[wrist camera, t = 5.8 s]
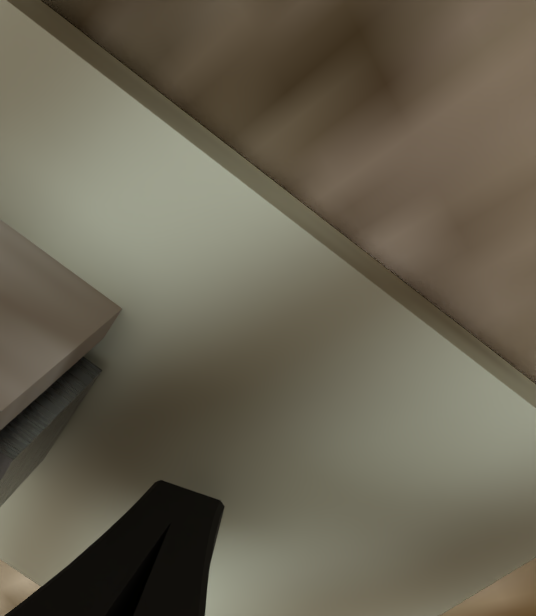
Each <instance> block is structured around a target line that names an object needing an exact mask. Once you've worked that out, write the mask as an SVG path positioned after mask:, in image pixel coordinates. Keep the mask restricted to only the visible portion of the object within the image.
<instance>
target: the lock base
mask: <svg viewBox="0 0 536 616" xmlns="http://www.w3.org/2000/svg"><path fill="white" fill-rule="evenodd" d="M83 356H84V357H85V358H86V359H88V360H89V361H91V362H92V363H93V364H95V365H96V366H98V367H99V368H100V369H102V372H101V373H100V375H99V376H98V378H97V379H96V381H95V383H94V384H93V386H92V387H91V389H90V390H89V392H88V393H87V395H86V396H85V398H84V399H83V401H82V402H81V404H80V405H79V407H78V408H77V410H76V411H75V413H74V414H73V416H72V418H71V419H70V421H69V422H68V424H67V425H66V427H65V428H64V430H63V431H62V433H61V434H60V436H59V437H58V439H57V440H56V442H55V443H54V445H53V446H52V448H51V449H50V451H49V453H48V454H47V456H46V457H45V459H44V460H43V461H42V462H41V463H40V464H39V465H38V467H37V468H36V469H35V470H34V471H33V472H32V473H31V474H30V475H29V476H28V477H27V479H26V480H25V481H24V482H23V483H22V484H21V485H20V486H19V487H18V488H17V489H16V491H15V492H14V493H13V494H12V495H11V496H10V497H9V498H8V499H7V500H6V501H5V503H4V504H3V505H2V506H1V507H0V559H1V560H2V561H4V562H5V563H7V564H8V565H10V566H11V567H13V568H14V569H15V570H17V571H18V572H20V573H21V574H23V575H24V576H26V577H27V578H29V579H30V580H32V581H33V582H35V583H36V584H38V585H39V586H41V587H42V586H43V585H44V584H45V583H47V582H48V581H49V580H50V579H52V578H53V577H54V576H55V575H57V574H58V573H59V572H60V571H62V570H63V569H64V568H65V567H66V566H68V565H69V564H70V563H71V562H72V561H73V560H75V559H76V558H77V557H78V556H79V555H80V554H81V553H82V552H84V551H85V550H86V549H87V548H88V547H89V546H90V545H91V544H93V543H94V542H95V541H96V540H97V539H98V538H99V537H101V536H102V535H103V534H104V533H105V532H106V531H107V530H108V529H109V528H110V527H111V526H112V525H113V524H115V523H116V522H117V521H118V520H119V519H120V518H121V517H122V516H123V515H124V514H125V513H126V512H127V511H128V510H129V509H130V508H131V507H132V506H133V505H134V504H135V503H136V502H137V501H138V500H139V499H140V498H141V497H142V496H143V495H144V494H145V493H146V491H147V490H148V489H149V488H150V487H151V486H152V485H153V484H154V483H155V482H157V481H159V480H163V481H166V482H169V483H172V484H174V485H177V486H180V487H183V488H186V489H189V490H192V491H195V492H198V493H201V494H204V495H207V496H209V497H212V498H215V499H218V500H221V502H222V503H223V505H224V506H225V507H224V511H223V515H222V519H221V523H220V527H219V531H218V535H217V539H216V543H215V547H214V551H213V555H212V559H211V563H210V570H209V578H208V586H207V598H206V610H205V616H440V615H441V614H443V613H445V612H446V611H448V610H449V609H451V608H453V607H454V606H456V605H458V604H459V603H461V602H463V601H464V600H466V599H468V598H469V597H471V596H473V595H474V594H476V593H478V592H479V591H481V590H483V589H484V588H486V587H487V586H489V585H491V584H492V583H494V582H496V581H497V580H499V579H501V578H502V577H504V576H506V575H507V574H509V573H511V572H512V571H514V570H516V569H517V568H519V567H521V566H522V565H524V564H525V563H527V562H529V561H530V560H532V559H534V558H535V557H536V384H535V383H533V382H532V381H531V380H530V379H528V378H527V377H526V376H524V375H523V374H522V373H521V372H519V371H518V370H517V369H515V368H514V367H513V366H512V365H510V364H509V363H508V362H506V361H505V360H504V359H503V358H501V357H500V356H499V355H497V354H496V353H495V352H493V351H492V350H491V349H490V348H488V347H487V346H486V345H484V344H483V343H482V342H481V341H479V340H478V339H477V338H475V337H474V336H473V335H472V334H470V333H469V332H468V331H466V330H465V329H464V328H463V327H461V326H460V325H459V324H457V323H456V322H455V321H454V320H452V319H451V318H450V317H448V316H447V315H446V314H444V313H443V312H442V311H441V310H439V309H438V308H437V307H435V306H434V305H433V304H432V303H430V302H429V301H428V300H426V299H425V298H424V297H423V296H421V295H420V294H419V293H417V292H416V291H415V290H414V289H412V288H411V287H410V286H408V285H407V284H406V283H405V282H403V281H402V280H401V279H399V278H398V277H397V276H396V275H394V274H393V273H392V272H390V271H389V270H388V269H386V268H385V267H384V266H383V265H381V264H380V263H379V262H377V261H376V260H375V259H374V258H372V257H371V256H370V255H368V254H367V253H366V252H365V251H363V250H362V249H361V248H359V247H358V246H357V245H356V244H354V243H353V242H352V241H350V240H349V239H348V238H347V237H345V236H344V235H343V234H341V233H340V232H339V231H337V230H336V229H335V228H334V227H332V226H331V225H330V224H328V223H327V222H326V221H325V220H323V219H322V218H321V217H319V216H318V215H317V214H316V213H314V212H313V211H312V210H310V209H309V208H308V207H307V206H305V205H304V204H303V203H301V202H300V201H299V200H298V199H296V198H295V197H294V196H292V195H291V194H290V193H288V192H287V191H286V190H285V189H283V188H282V187H281V186H279V185H278V184H277V183H276V182H274V181H273V180H272V179H270V178H269V177H268V176H267V175H265V174H264V173H263V172H261V171H260V170H259V169H258V168H256V167H255V166H254V165H252V164H251V163H250V162H249V161H247V160H246V159H245V158H243V157H242V156H241V155H240V154H238V153H237V152H236V151H234V150H233V149H232V148H230V147H229V146H228V145H227V144H225V143H224V142H223V141H221V140H220V139H219V138H218V137H216V136H215V135H214V134H212V133H211V132H210V131H209V130H207V129H206V128H205V127H203V126H202V125H201V124H200V123H198V122H197V121H196V120H194V119H193V118H192V117H191V116H189V115H188V114H187V113H185V112H184V111H183V110H181V109H180V108H179V107H178V106H176V105H175V104H174V103H172V102H171V101H170V100H169V99H167V98H166V97H165V96H163V95H162V94H161V93H160V92H158V91H157V90H156V89H154V88H153V87H152V86H151V85H149V84H148V83H147V82H145V81H144V80H143V79H142V78H140V77H139V76H138V75H136V74H135V73H134V72H132V71H131V70H130V69H129V68H127V67H126V66H125V65H123V64H122V63H121V62H120V61H118V60H117V59H116V58H114V57H113V56H112V55H111V54H109V53H108V52H107V51H105V50H104V49H103V48H102V47H100V46H99V45H98V44H96V43H95V42H94V41H93V40H91V39H90V38H89V37H87V36H86V35H85V34H84V33H82V32H81V31H80V30H78V29H77V28H76V27H74V26H73V25H72V24H71V23H69V22H68V21H67V20H65V19H64V18H63V17H62V16H60V15H59V14H58V13H56V12H55V11H54V10H53V9H51V8H50V7H49V6H47V5H46V4H45V3H44V2H42V1H41V0H0V430H2V429H3V428H4V427H5V426H6V425H7V424H8V423H9V422H10V421H12V420H13V419H14V418H15V417H16V416H17V415H18V414H19V413H20V412H22V411H23V410H24V409H25V408H26V407H27V406H28V405H29V404H31V403H32V402H33V401H34V400H35V399H36V398H37V397H38V396H39V395H41V394H42V393H43V392H44V391H45V390H46V389H47V388H48V387H50V386H51V385H52V384H53V383H54V382H55V381H56V380H57V379H58V378H60V377H61V376H62V375H63V374H64V373H65V372H66V371H67V370H69V369H70V368H71V367H72V366H73V365H74V364H75V363H76V362H77V361H79V360H80V359H81V358H82V357H83Z"/></svg>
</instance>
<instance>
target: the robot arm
mask: <svg viewBox="0 0 536 616" xmlns="http://www.w3.org/2000/svg"><path fill="white" fill-rule="evenodd" d="M224 507H225V506H224V505H223V503H222V502H221V500H218V499H215V498H212V497H209V496H207V495H204V494H201V493H198V492H195V491H192V490H189V489H186V488H183V487H180V486H177V485H174V484H172V483H169V482H166V481H163V480H159V481H157V482H155V483H154V484H153V485H152V486H151V487H150V488H149V489H148V490H147V491H146V493H145V494H144V495H143V496H142V497H141V498H140V499H139V500H138V501H137V502H136V503H135V504H134V505H133V506H132V507H131V508H130V509H129V510H128V511H127V512H126V513H125V514H124V515H123V516H122V517H121V518H120V519H119V520H118V521H117V522H116V523H115V524H113V525H112V526H111V527H110V528H109V529H108V530H107V531H106V532H105V533H104V534H103V535H102V536H101V537H99V538H98V539H97V540H96V541H95V542H94V543H93V544H91V545H90V546H89V547H88V548H87V549H86V550H85V551H84V552H82V553H81V554H80V555H79V556H78V557H77V558H76V559H75V560H73V561H72V562H71V563H70V564H69V565H68V566H66V567H65V568H64V569H63V570H62V571H60V572H59V573H58V574H57V575H55V576H54V577H53V578H52V579H50V580H49V581H48V582H47V583H45V584H44V585H43V586H42V587H40V588H39V589H38V590H37V591H36V592H34V593H33V594H32V595H31V596H29V597H28V598H27V599H26V600H24V601H23V602H22V603H20V604H19V605H18V606H17V607H15V608H14V609H13V610H11V611H10V612H9V613H7V614H6V615H5V616H205V610H206V598H207V586H208V578H209V570H210V563H211V559H212V555H213V551H214V547H215V543H216V539H217V535H218V531H219V527H220V523H221V519H222V515H223V511H224Z"/></svg>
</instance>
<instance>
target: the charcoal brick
mask: <svg viewBox="0 0 536 616" xmlns="http://www.w3.org/2000/svg"><path fill="white" fill-rule="evenodd" d="M101 372H102V369H100V368H99V367H98V366H96V365H95V364H93V363H92V362H91V361H89V360H88V359H86V358H85V357H84V356H83V357H82V358H81V359H80V360H79V361H77V362H76V363H75V364H74V365H73V366H72V367H71V368H70V369H69V370H67V371H66V372H65V373H64V374H63V375H62V376H61V377H60V378H58V379H57V380H56V381H55V382H54V383H53V384H52V385H51V386H50V387H48V388H47V389H46V390H45V391H44V392H43V393H42V394H41V395H39V396H38V397H37V398H36V399H35V400H34V401H33V402H32V403H31V404H29V405H28V406H27V407H26V408H25V409H24V410H23V411H22V412H20V413H19V414H18V415H17V416H16V417H15V418H14V419H13V420H12V421H10V422H9V423H8V424H7V425H6V426H5V427H4V428H3V429H2V430H0V507H1V506H2V505H3V504H4V503H5V501H6V500H7V499H8V498H9V497H10V496H11V495H12V494H13V493H14V492H15V491H16V489H17V488H18V487H19V486H20V485H21V484H22V483H23V482H24V481H25V480H26V479H27V477H28V476H29V475H30V474H31V473H32V472H33V471H34V470H35V469H36V468H37V467H38V465H39V464H40V463H41V462H42V461H43V460H44V459H45V457H46V456H47V454H48V453H49V451H50V449H51V448H52V446H53V445H54V443H55V442H56V440H57V439H58V437H59V436H60V434H61V433H62V431H63V430H64V428H65V427H66V425H67V424H68V422H69V421H70V419H71V418H72V416H73V414H74V413H75V411H76V410H77V408H78V407H79V405H80V404H81V402H82V401H83V399H84V398H85V396H86V395H87V393H88V392H89V390H90V389H91V387H92V386H93V384H94V383H95V381H96V379H97V378H98V376H99V375H100V373H101Z"/></svg>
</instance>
